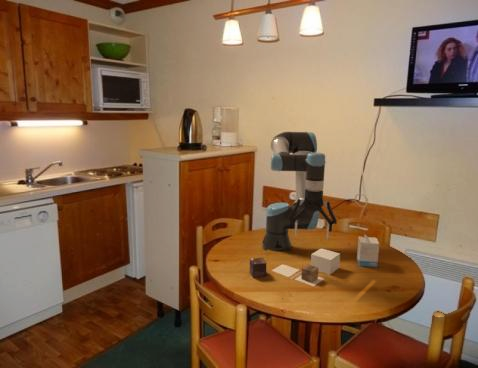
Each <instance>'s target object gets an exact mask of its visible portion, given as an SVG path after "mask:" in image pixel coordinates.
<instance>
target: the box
mask: <svg viewBox="0 0 478 368" xmlns="http://www.w3.org/2000/svg"><path fill="white" fill-rule="evenodd" d="M249 274H250V276H251V277H252V278H254V279H255V278H257V279H258V278H264V277H266V278H267V262H266V261H265V259H264V258H263V257H256V258H254V257H253V258H249Z"/></svg>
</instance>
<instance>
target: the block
mask: <svg viewBox="0 0 478 368" xmlns="http://www.w3.org/2000/svg"><path fill="white" fill-rule="evenodd" d="M301 271H302V272H301V279H302V280H305V281H308V282H310V283H313V282H314V281H315V280H317V279H318V277H319V271H318V267H315V266H312V265H311V264H309V263H308V264H306V265H305V266H302V268H301Z"/></svg>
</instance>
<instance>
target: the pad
mask: <svg viewBox="0 0 478 368" xmlns="http://www.w3.org/2000/svg"><path fill="white" fill-rule="evenodd" d="M299 271H300V269H298V268H295V267H292V266H289V265H286V264H280V265H279V266H277V267H274V268H273V269H272V270H271V272H273V273H277V274H279V275H282V276H284V277H287V278H289V277H290V278H291V276H293V275H295V274H297V273H298V272H299Z"/></svg>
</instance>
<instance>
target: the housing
mask: <svg viewBox="0 0 478 368" xmlns="http://www.w3.org/2000/svg"><path fill="white" fill-rule="evenodd" d="M340 259H341V253H340V252H339V253H338V252H335V251H332V250H329V249H325V248H320V249H318V250H316V251H314V252H312V253H311V255H310V265H312V266H315V267H318V273H322V274H324V275H325V274H326V275H329V276H330V275H332V274H333V273H334V272H336V271H337V270H338V269H340Z"/></svg>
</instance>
